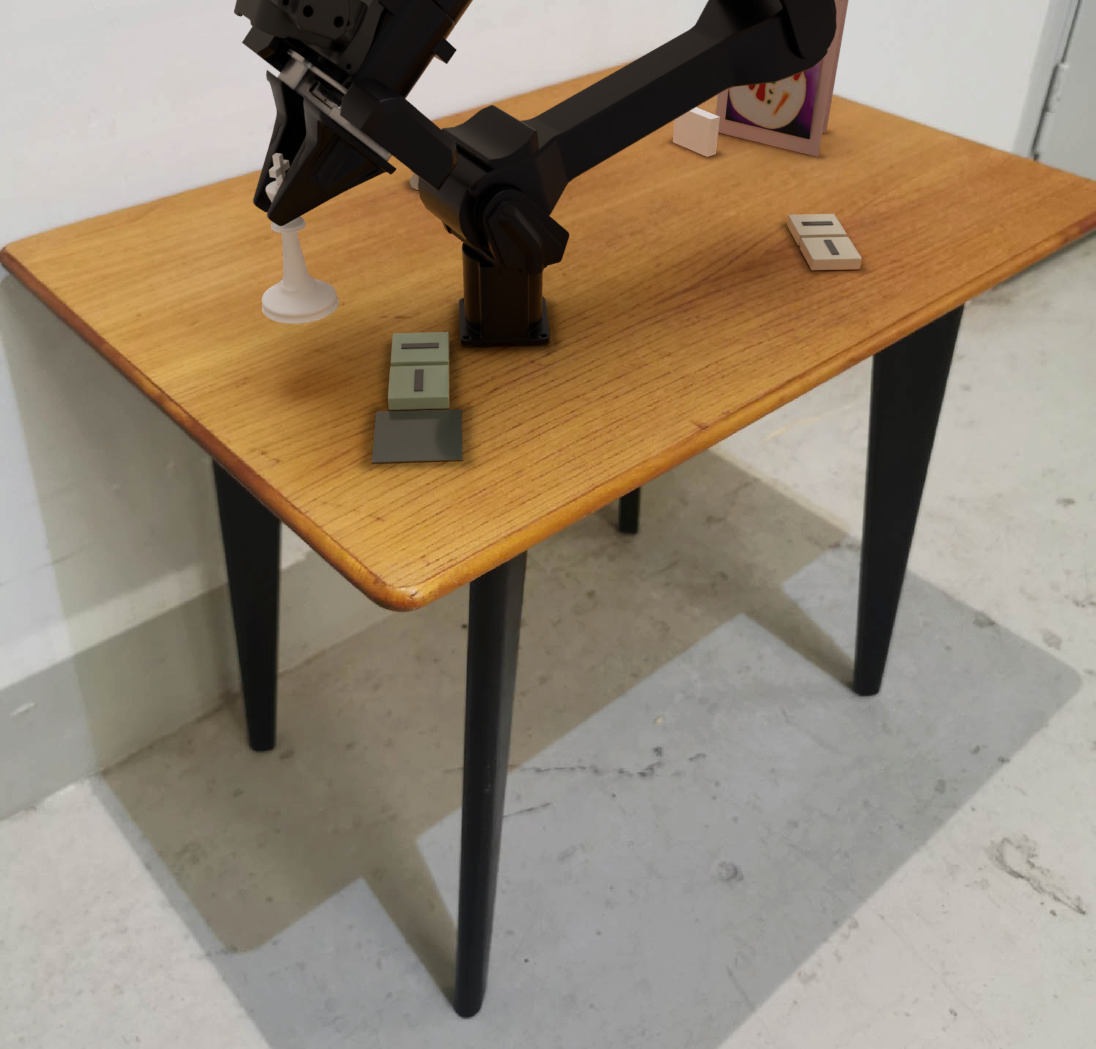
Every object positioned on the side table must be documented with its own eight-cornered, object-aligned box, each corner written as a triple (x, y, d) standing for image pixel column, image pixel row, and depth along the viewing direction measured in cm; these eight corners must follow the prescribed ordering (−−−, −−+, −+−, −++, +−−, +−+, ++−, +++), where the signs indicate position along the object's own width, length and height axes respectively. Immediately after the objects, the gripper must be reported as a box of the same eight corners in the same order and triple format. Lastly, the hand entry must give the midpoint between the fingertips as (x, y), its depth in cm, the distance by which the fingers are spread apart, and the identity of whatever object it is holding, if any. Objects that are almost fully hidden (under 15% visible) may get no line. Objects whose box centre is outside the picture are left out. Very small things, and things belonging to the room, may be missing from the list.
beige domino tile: (860, 269, 90) (862, 257, 90) (811, 270, 90) (813, 258, 90) (832, 224, 97) (834, 212, 96) (786, 225, 97) (788, 213, 96)
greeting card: (709, 134, 113) (726, -28, 104) (743, 113, 118) (762, -43, 108) (814, 159, 108) (841, -7, 99) (845, 136, 113) (874, -25, 104)
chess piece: (351, 293, 74) (333, 144, 68) (317, 329, 71) (295, 175, 64) (284, 283, 75) (260, 135, 69) (248, 317, 72) (219, 165, 65)
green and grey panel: (462, 460, 70) (461, 445, 69) (371, 463, 69) (370, 448, 69) (460, 343, 81) (460, 329, 80) (382, 345, 81) (381, 331, 80)
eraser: (707, 157, 109) (710, 119, 106) (672, 142, 112) (675, 105, 109) (716, 154, 109) (720, 116, 107) (681, 139, 112) (684, 102, 110)
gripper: (248, -133, 66) (105, 92, 68) (388, -71, 54) (208, 200, 56) (382, -9, 74) (251, 188, 77) (530, 70, 62) (368, 301, 64)
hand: (266, 215), depth 68 cm, fingers closed on chess piece
